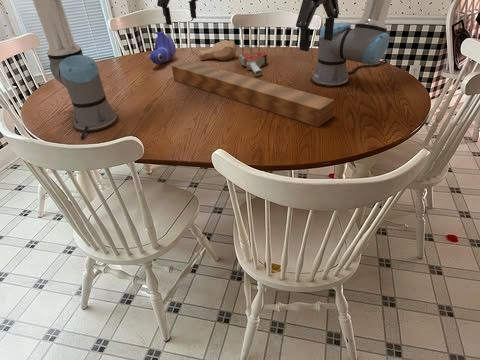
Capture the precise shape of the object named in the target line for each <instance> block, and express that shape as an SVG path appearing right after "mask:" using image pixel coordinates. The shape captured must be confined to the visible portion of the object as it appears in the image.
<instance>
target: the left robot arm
mask: <svg viewBox="0 0 480 360" xmlns="http://www.w3.org/2000/svg"><path fill="white" fill-rule="evenodd" d="M170 1H171V0H157V2H156V3H157V4H156V5H157V7H159V8H161V10H162V15H163V17H164V18H165V24H166V25H168V26H172V23H173V22H172V17H171V11H170V7H168V6H169V3H170ZM32 2H33V5H34V8H35V11H36V13H37V16H38V19H39V22H40V24H41V28H42V31H43V33H44V35H45V39H46V41H47V44H48V50H47V51H46V55H47V58H48V61H49V68H50V72H51V74H52V76H53V78H55V80H56V81H58V82H59V83H60V84H61V85H63V86H64V87H65V88H66V90H67V93H68V95H69V99H70V101H71V104H72V108H73V114H72V117H73V118H72V119H73V125H74V128H75V129H76V131H78V132H82V133H81V136H80V139H84V137H85V135H86V133H92V132H99V131H102V130H105V129H107V128H110V127H111V126H113V125H115V124H116V122H117V121H118V116H117V113H116V111H115V110H114V108H113V107H112V105H111V103H110V102H109V101H108V99H107V96H106V92H105V89H104V87H103V86H104V85H103V83H102V79H101V75H100V71H99V67H98V65H97V63H96V60H95V59H94V58H93V57H91V56H89V55H84V53H83V49H82V47H81V46H80V45H78V44H77V43H76V41H75V40H74V35H73V33H72V30H71V26H70V23H69V21H68V17H67V14H66V13H67V12H66V10H65V8H64V7H65V6H64V5H63V0H32ZM197 2H198V0H189V1H188V5H189V12H190V18H191V19H197Z"/></svg>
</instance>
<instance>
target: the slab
mask: <svg viewBox="0 0 480 360" xmlns="http://www.w3.org/2000/svg"><path fill="white" fill-rule="evenodd" d="M171 71H172V76H173V77H172V78H173V81H176V82H178V83H183V84H185V85H189V86H191V87H194V88H197V89H201V90H203V91H206V92H209V93H212V94H216V95H218V96H222V97H225V98H228V99H231V100H234V101H238V102H241V103H244V104H247V105H250V106H253V107H255V108H258V109H261V110H264V111H268V112H271V113H273V114H274V113H275V114H277V115H281V116H283V117H286V118H288V119H293V120H296V121H299V122H302V123H305V124H308V125H310V126H314V127H316V128H320V127H321V126H322V125H324V124H325V123H326V122H328V121H330V119H332V118H333V117H334V109H335V99H333V98H329V97H326V96H321V95H319V94H314V93H310V92H306V91H303V90H299V89H296V88H292V87H289V86H284V85H280V84H278V83H277V84H276V83H273V82H269V81H266V80H261V79H258V78H254V77H250V76H247V75H243V74H239V73H236V72H232V71H228V70H224V69H220V68H217V67H214V66H209V65H206V64H202V63H198V62H194V61H191V60H187V59H186V60H184V61H181V62H180V63H176V64H173V65H171Z"/></svg>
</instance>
